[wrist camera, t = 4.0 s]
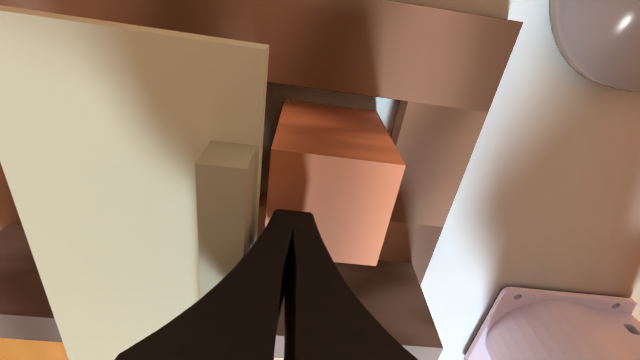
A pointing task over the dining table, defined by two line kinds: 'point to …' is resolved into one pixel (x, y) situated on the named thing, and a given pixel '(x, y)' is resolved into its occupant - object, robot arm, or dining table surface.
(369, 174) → the block
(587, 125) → the dining table surface
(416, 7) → the puzzle board
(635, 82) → the saucer
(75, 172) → the sliding lid
